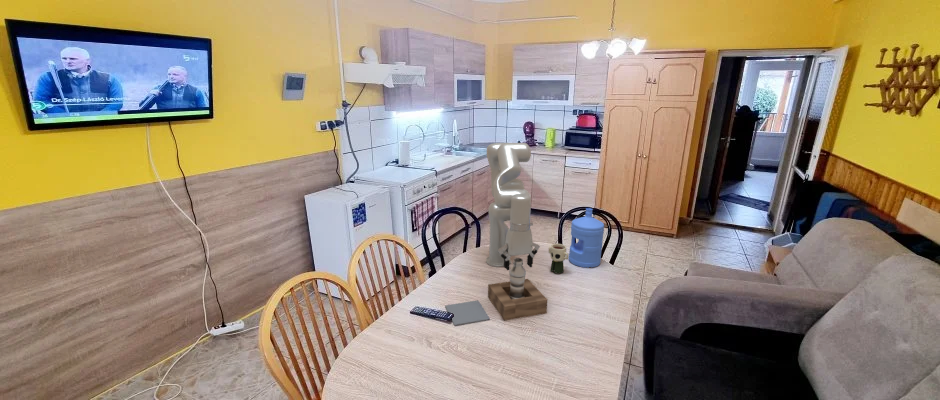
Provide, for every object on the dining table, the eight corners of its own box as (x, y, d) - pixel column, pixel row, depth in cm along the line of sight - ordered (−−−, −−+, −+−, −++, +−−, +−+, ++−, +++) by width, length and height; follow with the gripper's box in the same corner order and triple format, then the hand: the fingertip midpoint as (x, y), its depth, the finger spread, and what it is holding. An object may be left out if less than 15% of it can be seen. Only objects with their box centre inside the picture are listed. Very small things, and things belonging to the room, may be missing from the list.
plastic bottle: (524, 310, 159) (526, 264, 153) (507, 308, 160) (508, 262, 154) (525, 301, 165) (527, 257, 159) (508, 299, 166) (510, 255, 160)
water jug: (596, 255, 209) (602, 204, 201) (603, 269, 194) (609, 214, 186) (566, 254, 211) (570, 203, 203) (570, 267, 196) (575, 213, 188)
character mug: (543, 270, 193) (544, 245, 189) (551, 265, 198) (553, 241, 194) (562, 277, 185) (564, 252, 182) (570, 273, 190) (573, 247, 186)
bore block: (487, 297, 168) (488, 284, 166) (526, 291, 173) (527, 278, 172) (504, 320, 152) (504, 306, 150) (546, 313, 157) (547, 299, 155)
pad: (445, 306, 161) (445, 305, 160) (478, 301, 165) (478, 300, 164) (454, 326, 148) (454, 324, 148) (489, 319, 152) (490, 318, 152)
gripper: (535, 221, 159) (533, 261, 163) (495, 225, 154) (494, 266, 158) (544, 227, 152) (542, 268, 156) (502, 231, 147) (501, 274, 151)
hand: (518, 267), depth 157 cm, fingers open, 9 cm apart
